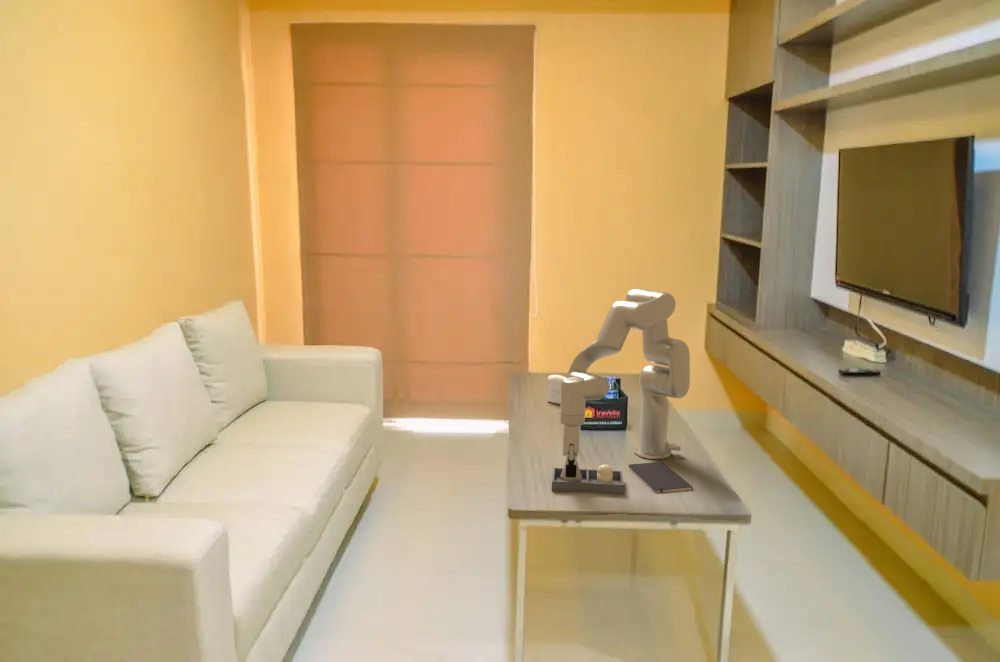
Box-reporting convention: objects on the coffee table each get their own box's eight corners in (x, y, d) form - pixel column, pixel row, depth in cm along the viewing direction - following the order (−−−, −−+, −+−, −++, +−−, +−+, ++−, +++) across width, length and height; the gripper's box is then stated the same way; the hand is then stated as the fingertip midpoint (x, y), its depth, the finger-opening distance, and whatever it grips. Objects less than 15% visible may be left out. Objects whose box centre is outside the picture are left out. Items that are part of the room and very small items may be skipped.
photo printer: (570, 403, 310) (571, 376, 308) (566, 406, 307) (566, 378, 304) (550, 399, 316) (550, 372, 314) (545, 402, 312) (545, 374, 310)
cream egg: (611, 481, 226) (612, 462, 224) (612, 487, 221) (613, 468, 220) (596, 480, 226) (597, 461, 225) (596, 486, 221) (597, 467, 220)
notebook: (692, 491, 222) (662, 465, 242) (692, 486, 221) (662, 461, 242) (654, 495, 219) (627, 468, 239) (654, 490, 218) (627, 464, 239)
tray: (621, 479, 228) (621, 470, 228) (623, 494, 218) (623, 485, 217) (553, 476, 231) (553, 467, 230) (551, 490, 220) (551, 481, 219)
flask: (580, 473, 228) (580, 444, 226) (584, 482, 221) (585, 452, 219) (557, 474, 228) (558, 444, 226) (561, 483, 221) (562, 452, 219)
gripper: (561, 409, 229) (559, 462, 233) (559, 426, 213) (558, 483, 216) (584, 409, 229) (583, 463, 232) (584, 427, 212) (583, 484, 216)
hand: (571, 472), depth 224 cm, fingers closed on flask, 4 cm apart
